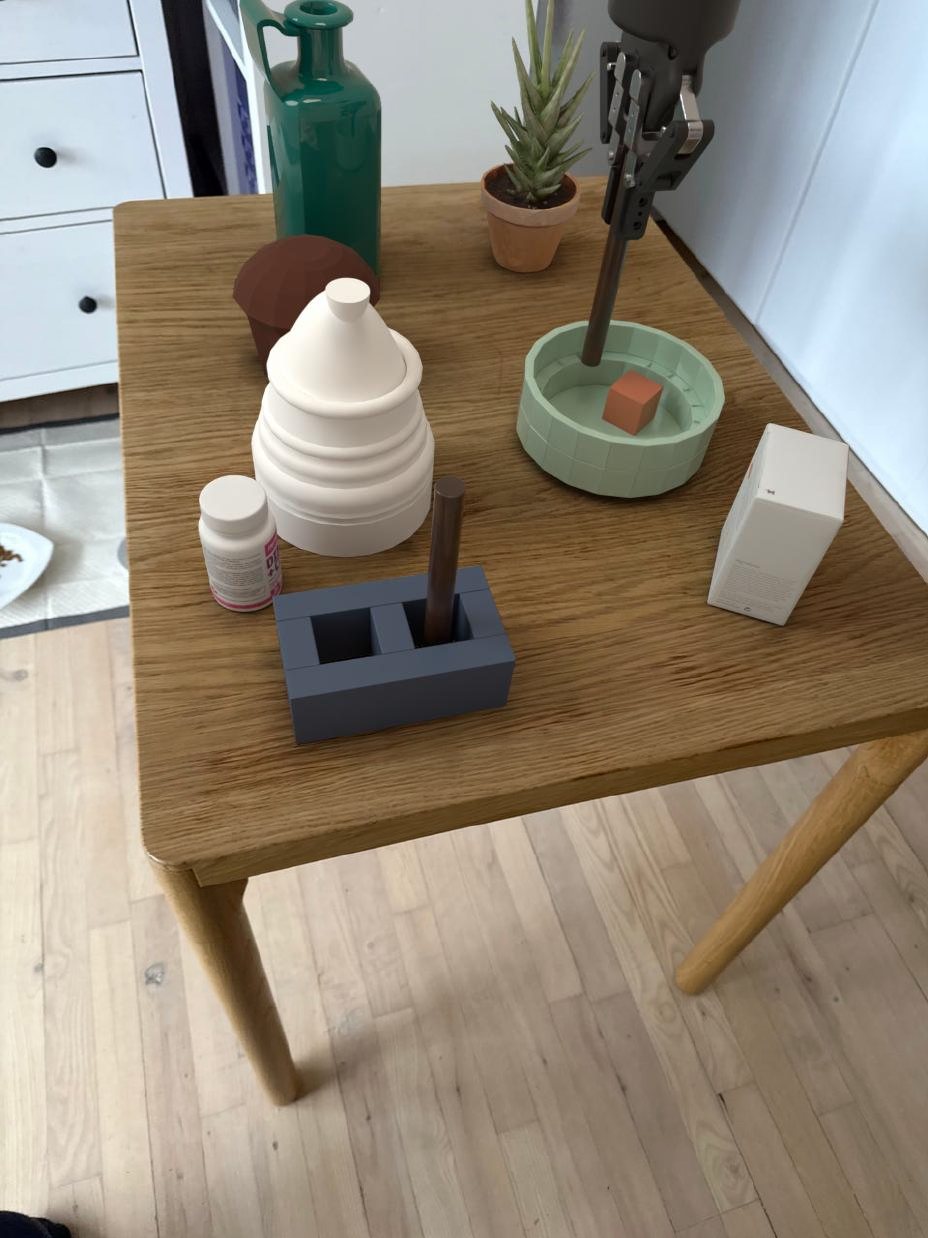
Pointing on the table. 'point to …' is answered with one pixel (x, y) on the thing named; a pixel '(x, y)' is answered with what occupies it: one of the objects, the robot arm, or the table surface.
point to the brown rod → (606, 290)
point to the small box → (780, 523)
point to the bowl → (575, 400)
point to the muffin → (293, 283)
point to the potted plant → (536, 158)
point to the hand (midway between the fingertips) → (621, 228)
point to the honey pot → (344, 430)
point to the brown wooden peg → (443, 559)
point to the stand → (389, 655)
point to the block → (632, 402)
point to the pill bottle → (239, 543)
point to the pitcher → (320, 128)
